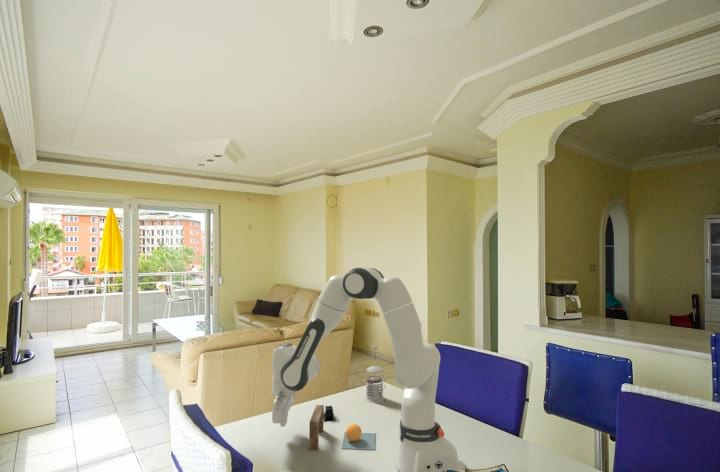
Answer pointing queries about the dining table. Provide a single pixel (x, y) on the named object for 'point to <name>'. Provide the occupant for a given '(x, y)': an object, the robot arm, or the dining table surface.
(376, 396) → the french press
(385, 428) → the dining table surface
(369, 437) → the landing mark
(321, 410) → the bridge
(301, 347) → the robot arm
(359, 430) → the ball
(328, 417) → the black stepped block
